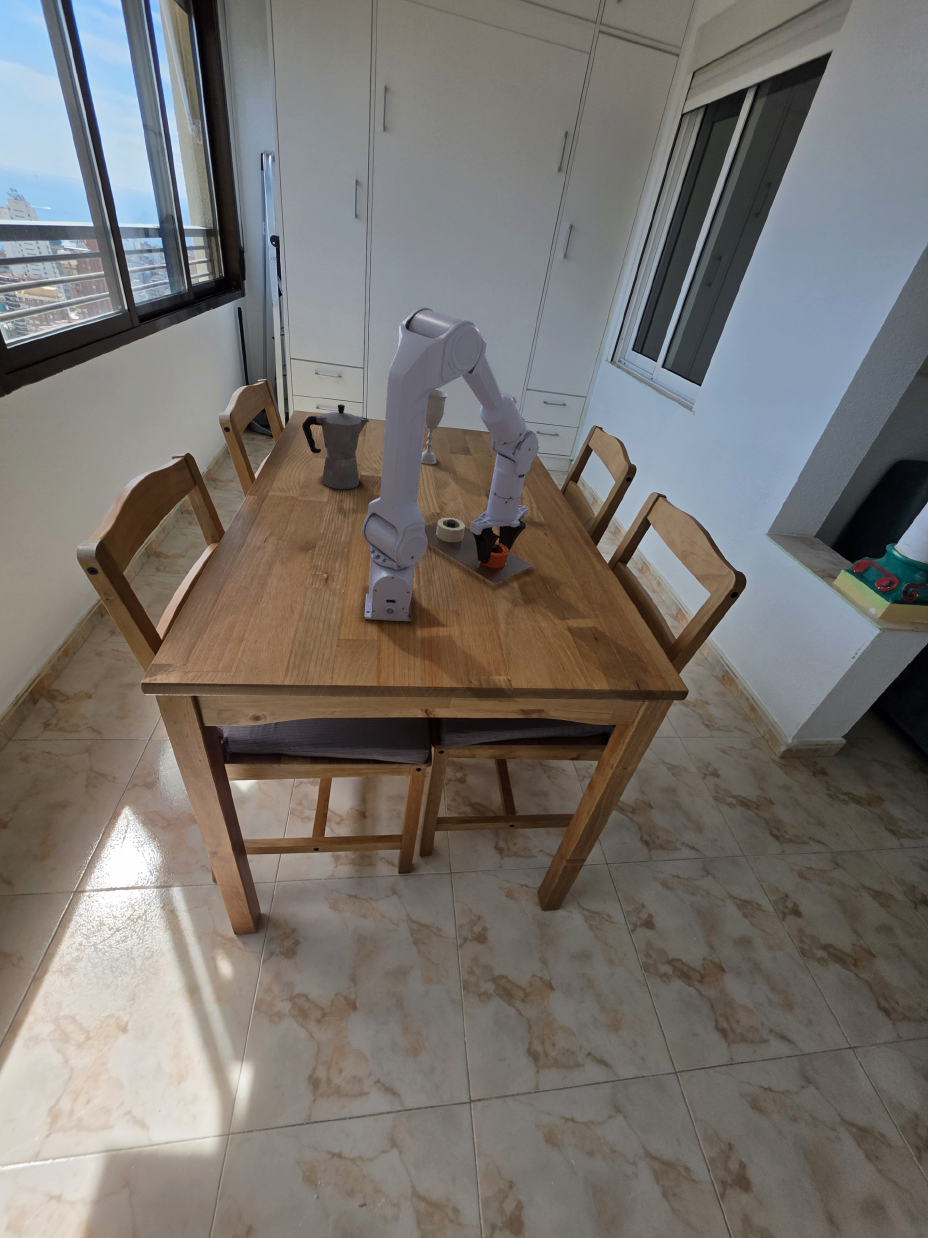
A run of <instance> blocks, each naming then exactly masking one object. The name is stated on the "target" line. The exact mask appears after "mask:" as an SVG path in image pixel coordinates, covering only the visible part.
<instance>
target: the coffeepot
mask: <svg viewBox="0 0 928 1238" xmlns="http://www.w3.org/2000/svg"><path fill="white" fill-rule="evenodd" d="M345 407H346V405H344V404H337V409H338V411H332V412H325V413H321V415H309V416H307V417H306V418H305V420H304V421H303V422H302V424H301V428H302V432H303V433H304V435H305V436H304V437H305V438H306V441H307V444H308V447H309V450H310V452H311V453H312V454H320V453H321V452H322V449H321V448H317V447H316V442H315V439H314V437H313V431H312V429H311V426H320V427H321V429H322V430H321V431H322V435H323V443H324V448H325V458H324V465H323V472H322V479H321V483H322V484H323V485H324V486H326V487H328V488H331V489H334V490H335V489H336V490H352V489H355V488H356V487H358V486H359V485H360V477H359V469H358V462H357V456H356V455H357V454H356V453H357V452H356V451H357V450H358V443H359V437H360V434H361V433H362V431H363V429H364V428H365V426H366V424H367V423H369V422H370V419H368V418H367V417H364V416H359V415H354V414H352V413H350V412H345Z"/></svg>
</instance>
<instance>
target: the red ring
mask: <svg viewBox="0 0 928 1238" xmlns="http://www.w3.org/2000/svg"><path fill="white" fill-rule="evenodd" d="M495 544H497V545H499V552H498V553H492V552H491V556H490V559H489V561H488V563H487V564H484V563H482V562H480V561H479V562H480V563H481V564H483V565H484V566H486V567H490V568H501V567H504V566H505V565H506V562H507V558H508V553H509V552H510V551H509V550H508V548H507V547H506V546H505V545H503V544H501V543H498V541H496V543H495Z"/></svg>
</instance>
